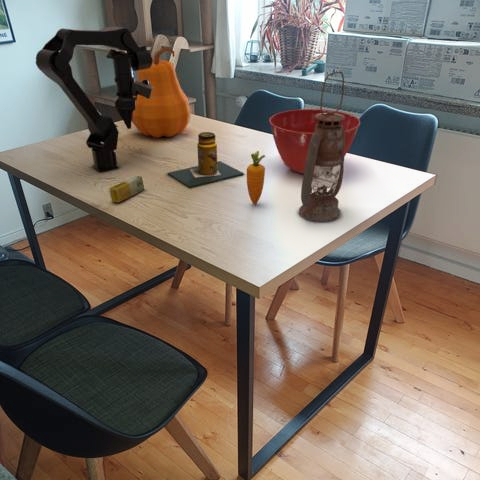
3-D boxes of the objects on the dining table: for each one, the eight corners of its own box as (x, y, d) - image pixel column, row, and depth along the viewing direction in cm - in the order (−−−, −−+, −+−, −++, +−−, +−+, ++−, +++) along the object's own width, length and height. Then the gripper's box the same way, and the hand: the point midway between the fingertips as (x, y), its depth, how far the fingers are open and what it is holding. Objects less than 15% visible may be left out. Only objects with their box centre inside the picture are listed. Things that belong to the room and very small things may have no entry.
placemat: (189, 188, 148) (189, 186, 148) (167, 174, 157) (167, 172, 157) (243, 174, 157) (243, 173, 157) (219, 162, 166) (219, 161, 166)
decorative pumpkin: (192, 124, 204) (188, 42, 186) (191, 141, 185) (186, 51, 167) (135, 125, 203) (125, 42, 185) (128, 142, 184) (116, 52, 166)
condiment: (221, 175, 155) (220, 136, 148) (195, 178, 153) (193, 138, 146) (214, 167, 161) (213, 129, 154) (189, 170, 159) (187, 132, 151)
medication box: (137, 188, 147) (135, 175, 145) (145, 189, 146) (142, 176, 144) (111, 202, 139) (108, 188, 137) (118, 202, 138) (115, 188, 135)
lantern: (284, 216, 132) (294, 73, 111) (321, 199, 142) (336, 64, 121) (317, 229, 126) (333, 80, 105) (353, 210, 135) (374, 70, 115)
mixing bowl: (259, 179, 154) (261, 128, 145) (275, 151, 177) (278, 105, 167) (350, 187, 149) (358, 135, 140) (355, 157, 171) (362, 111, 162)
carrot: (253, 199, 141) (254, 147, 132) (267, 204, 139) (269, 150, 130) (242, 205, 138) (243, 151, 129) (256, 209, 136) (257, 155, 127)
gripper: (149, 78, 148) (154, 132, 157) (150, 67, 162) (154, 116, 172) (111, 79, 146) (118, 133, 156) (115, 67, 161) (122, 117, 171)
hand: (130, 124), depth 164 cm, fingers open, 9 cm apart
